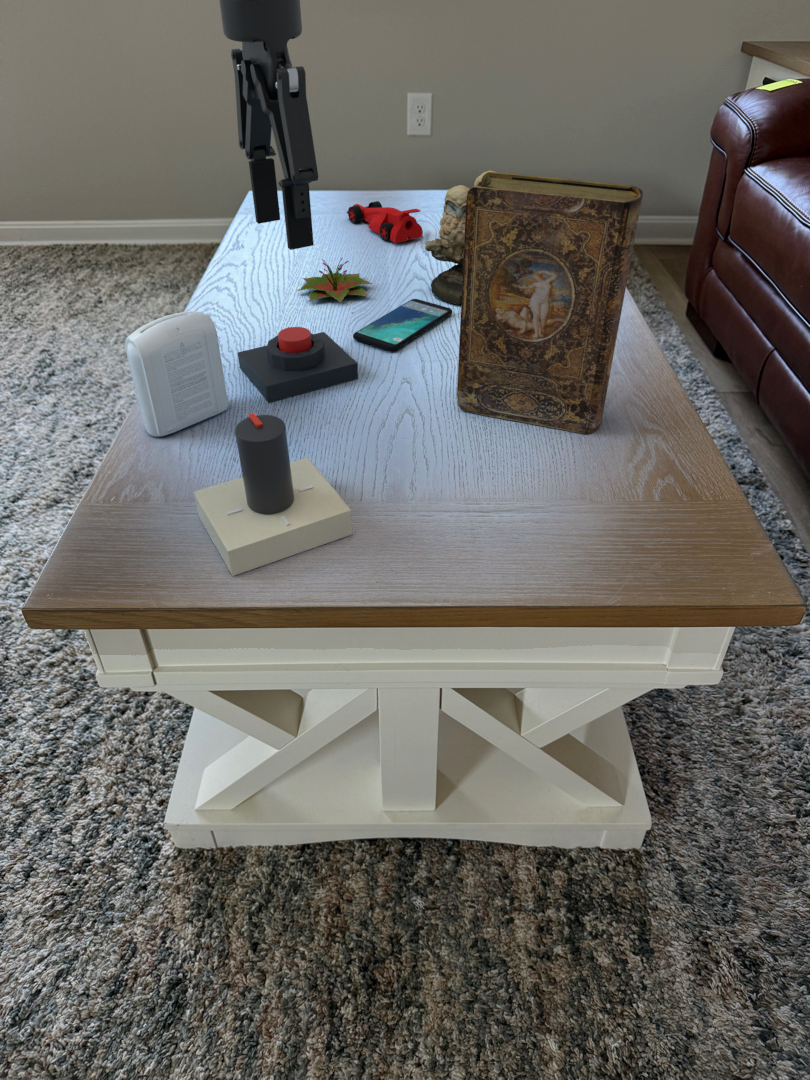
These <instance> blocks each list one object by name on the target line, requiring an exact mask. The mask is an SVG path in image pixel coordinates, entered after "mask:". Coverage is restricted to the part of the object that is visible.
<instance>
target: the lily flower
mask: <svg viewBox="0 0 810 1080" xmlns="http://www.w3.org/2000/svg"><path fill="white" fill-rule="evenodd" d="M343 259H344V257H341V258H340V260H339V262H338V264H337V266H336V268H335V267H334V265H332V268H331V267H330V266H329V265H328V263H327V262H326V261H325V260H324V259H323V258H321V261H322V264H323V266H325V267H326V268H327V269H326V268H323V270H324V271H325V272H327V273H324V272H323V271H322V270H318V272H319V273H320V274H322V275H321V276H313V277H312V276H311V277H307V278H306V277H302V279H303V280H304V282H305V283H304V284H303V285H302V286H301V288H299V289H296V292H299V291H305V290H313V291H311V292H310V293H309V296H308V298H309V299H308V302H311V301H316V300H320V299H324V298H329V297H332V298H333V299H334V300H337V301H338V302H339V304H341V303H342V302H343V300H344V299H345V297H346V296H366V297H370V295H369V294H368V292H367V291H366V290H365V288H363V287H359V286H361V285H374V283H373V282H370V281H367V280H365V279H364V278H362V277H360V274H361V273H347V272H348V270H347V269H344V270H343V272H342V273H340V271H342V269H343V266H344V265H346V264H348V263H349V260H346V261H345V262H343V263H341V262H342V260H343ZM331 261H332V263H333V260H331Z"/></svg>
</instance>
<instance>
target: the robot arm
mask: <svg viewBox="0 0 810 1080" xmlns="http://www.w3.org/2000/svg"><path fill="white" fill-rule="evenodd" d="M219 9H220V16H221V24H222V33H223V34H224V36H225V37H226V38H227V39H228V40H230V41H234V42H240V43H241V48H231V50H230V58H231V61H232V62H231V63H232V67H233V73H234V90H235V105H236V118H237V119H236V120H237V121H236V122H237V135H238V147H239V148H240V150H244V155H245V156H246V159H247V160H250V161H248V167H249V175H250V185H251V191H252V192H251V193H252V200H253V206H254V217H255V222H256V223H257V224H265V223H266V224H267V223H270V222H277V221H281V213H280V204H279V203H280V202H279V194H278V186H279V187H280V188H281V195H282V203H283V213H284V224H285V232H286V243H287V244H286V245H287V249H288V250H290V251H293V250H298V249H303V248H308V247H313V246H314V233H313V218H312V207H311V196H310V183H312V182H317V181H318V180H319V171H318V165H317V164H318V163H317V159H316V152H315V151H316V150H315V144H314V138H313V133H312V125H311V118H310V111H309V106H308V104H309V103H308V99H307V80H306V77H307V76H306V69H305V67H304V66H301V65H300V66H293V64H292V61H291V57H290V52H289V48H288V42H289V41H290V40H294V39H297V38H299V37H300V36H301V35H302V33H303V23H302V22H303V21H302V10H301V9H302V8H301V0H219ZM272 133H273V137H274V141H275V146H276V149H277V153H276V150H275V149H274V148H273V145H271V141H272ZM277 154H278V157H279V162H280V166H281V170H282V174H283V179H280V181H278V183H277V175H276V167H275V166H276V163H275V159H274V158H272V157H274V156H276V155H277ZM268 157H270V158H268Z"/></svg>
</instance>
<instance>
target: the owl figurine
mask: <svg viewBox="0 0 810 1080" xmlns="http://www.w3.org/2000/svg"><path fill="white" fill-rule="evenodd" d="M487 172H496V171H494V170H492V169H489V170H487V171H484V172H482V173H481V174H479V176H478V177H476V178H475V180H474V184H473V186H481V181H482V177H483V175H484V174H485V173H487ZM469 189H470V187H467V186H466V185H463V184H459V185H455V186H453V187H451V188H449V189H447V191H446V194H445V197H444V204H443V211H442V213H441V214H442V217H441V219H439V225H440V228H439V231H438V234H439V235H438V236H439V237H438V238H436V237H435V238H434V239H432V240H429V241H428V240H426V241H425V242H424V244H425V246H424V249H425V251H426V252H430V254H431V256H432V257H433V258H434V259H435V260H437V261H439V262H448V263H454V265H453V266H451V267H450V268H449V269H446V270H444V271H442V272H440V273H438V275H437V276H435V277H434V278H433V279H432V281H431V282H430V286H431V287H430V288H431V292H432V294H433V295H434V296H435V298H438V300H439V301H442V302H444V303H448V304H454V305H455V306H461V301H462V281H463V260H464V240H465V219H466V201H467V193H468V191H469Z"/></svg>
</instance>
